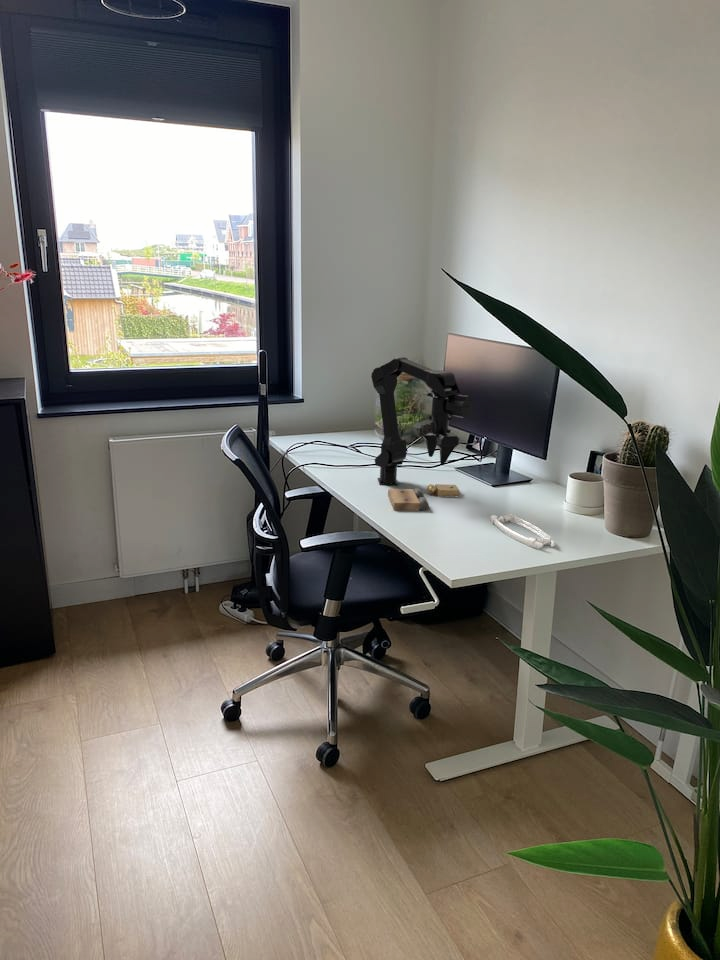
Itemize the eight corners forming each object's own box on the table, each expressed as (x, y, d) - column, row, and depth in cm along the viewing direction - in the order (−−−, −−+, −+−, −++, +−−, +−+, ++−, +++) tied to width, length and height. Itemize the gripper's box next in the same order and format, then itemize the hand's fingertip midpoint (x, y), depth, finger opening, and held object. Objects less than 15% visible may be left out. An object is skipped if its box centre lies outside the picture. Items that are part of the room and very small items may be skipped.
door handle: (532, 553, 194) (482, 521, 215) (562, 549, 197) (510, 518, 219) (533, 544, 193) (483, 513, 215) (563, 540, 196) (511, 510, 218)
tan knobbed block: (454, 491, 242) (455, 483, 242) (458, 497, 237) (459, 489, 236) (425, 491, 241) (426, 483, 240) (429, 496, 236) (429, 488, 235)
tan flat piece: (393, 510, 221) (394, 501, 220) (387, 495, 234) (388, 487, 233) (428, 510, 222) (429, 501, 221) (420, 496, 235) (421, 488, 234)
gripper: (405, 406, 232) (402, 453, 237) (428, 419, 216) (424, 469, 220) (437, 406, 236) (433, 452, 240) (462, 418, 219) (457, 468, 224)
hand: (436, 460), depth 231 cm, fingers open, 9 cm apart
